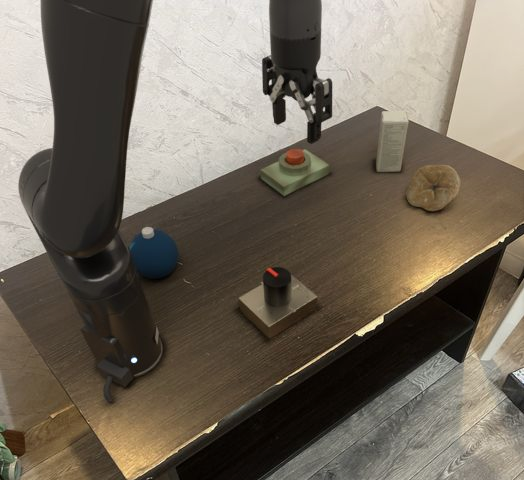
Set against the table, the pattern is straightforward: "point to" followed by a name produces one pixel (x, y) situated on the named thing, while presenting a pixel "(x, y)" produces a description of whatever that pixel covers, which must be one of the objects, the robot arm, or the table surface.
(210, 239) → the table surface
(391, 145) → the box
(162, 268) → the christmas ornament
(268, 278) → the dial
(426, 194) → the fossil
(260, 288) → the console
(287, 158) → the button
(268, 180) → the button block
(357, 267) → the table surface
